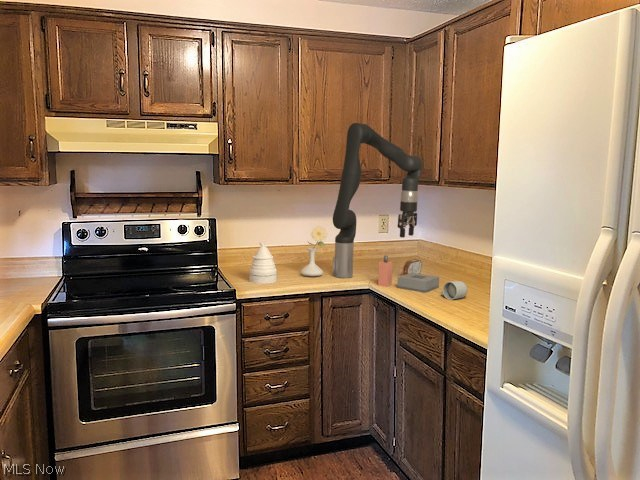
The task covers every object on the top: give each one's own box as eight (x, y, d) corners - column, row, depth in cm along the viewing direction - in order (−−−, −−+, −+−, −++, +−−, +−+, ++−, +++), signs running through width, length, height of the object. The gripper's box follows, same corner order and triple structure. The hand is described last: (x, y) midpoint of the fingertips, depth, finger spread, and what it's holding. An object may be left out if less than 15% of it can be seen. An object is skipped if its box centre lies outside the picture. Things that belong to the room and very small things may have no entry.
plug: (378, 285, 248) (379, 255, 247) (383, 283, 252) (384, 254, 250) (386, 286, 246) (387, 256, 244) (391, 285, 249) (392, 255, 247)
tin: (417, 273, 278) (417, 257, 277) (422, 274, 276) (423, 258, 275) (402, 278, 266) (402, 261, 265) (407, 279, 264) (408, 262, 263)
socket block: (397, 287, 244) (397, 277, 243) (411, 282, 255) (411, 272, 254) (425, 292, 236) (426, 281, 235) (438, 287, 247) (439, 276, 246)
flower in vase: (297, 277, 263) (298, 226, 260) (303, 272, 274) (304, 224, 271) (323, 278, 260) (324, 227, 257) (328, 274, 271) (329, 225, 268)
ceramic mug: (468, 298, 226) (469, 280, 225) (456, 301, 221) (457, 283, 220) (448, 294, 234) (448, 277, 234) (436, 296, 229) (436, 279, 228)
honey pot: (246, 278, 258) (246, 241, 255) (272, 277, 262) (272, 240, 260) (253, 284, 246) (253, 245, 243) (280, 282, 250) (280, 244, 248)
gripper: (408, 199, 248) (406, 234, 250) (393, 200, 236) (391, 236, 239) (423, 200, 243) (421, 235, 246) (409, 202, 232) (406, 239, 234)
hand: (406, 236), depth 242 cm, fingers open, 8 cm apart
